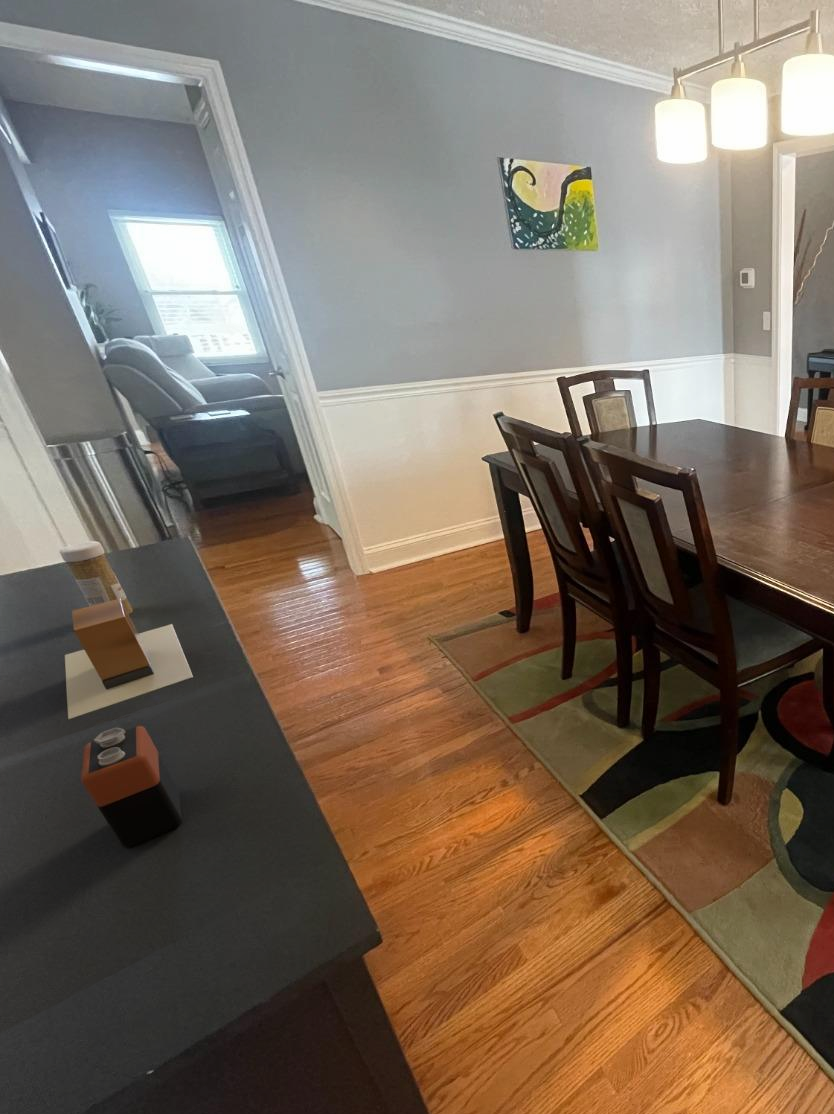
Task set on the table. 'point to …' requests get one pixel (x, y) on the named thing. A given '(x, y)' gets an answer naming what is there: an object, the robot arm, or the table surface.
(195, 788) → the table surface
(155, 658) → the board
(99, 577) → the sprinkles bottle
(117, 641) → the eraser
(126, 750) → the battery
